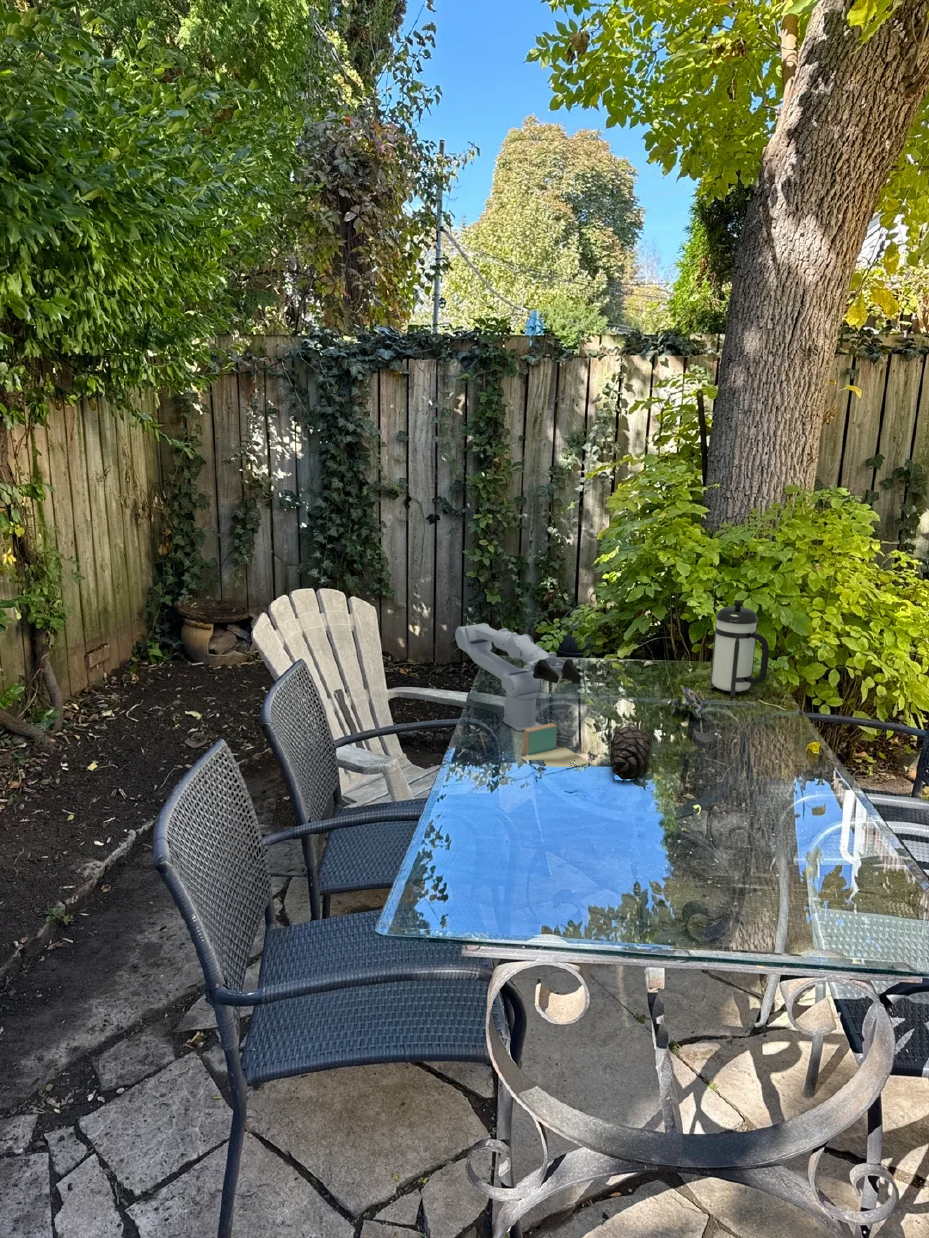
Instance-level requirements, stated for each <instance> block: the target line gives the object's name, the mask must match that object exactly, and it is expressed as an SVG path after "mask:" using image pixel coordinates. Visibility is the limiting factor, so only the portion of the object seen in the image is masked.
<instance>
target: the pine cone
mask: <svg viewBox="0 0 929 1238" xmlns="http://www.w3.org/2000/svg"><path fill="white" fill-rule="evenodd" d="M648 734H649V733H647V732H646V731H644V730H642V729H640V728H639V727H637V726H623V727H622V728H620V729H617V730H616V731H615V732H614V735H613V736H612V739H611V740H610V750H609V752H610V755H609V756H610V759H609V761H610V766H611V770H612V774H613V773H615V774H616V775H618V776H619V777H620V778H621V779H634V778H635V780H638V779H639V778H640V777H639V776H641V775H642V774H643V773H644V770H645V767H646V765H647V763H648V761H649V757H650V755H651V748H652V745H653V743H652V741H651V739H650V736H649V735H648ZM641 773H642V774H641ZM638 777H639V778H638Z"/></svg>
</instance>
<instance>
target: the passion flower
mask: <svg viewBox="0 0 929 1238" xmlns="http://www.w3.org/2000/svg"><path fill="white" fill-rule="evenodd" d="M679 688H680V690H681V691H680V692H681V693H682V694H679V695H678V696H677V698H674V700H672V699H671V698H670V693H667V692H666V697H667V699H668V700H670V702H669V703H668V704H667V705H666V706H665V709H668V708H669V707H670V706H672V705H673V709H672V711H671V714H670V716H671V715H673V714H674V713H675V712H677V711H678V710H679V708H681V707H682V706H684V710H685V709H686V710H689V708H690V707H691V709H692V716H693V717H694V718H695V719H696V720H699V719H698V718H701V719H702V715H701V714H702V712H703V710H704V703H703V701H707V699H706V697H705V695H704V693H703V691H702V690H701V689H697V690H696V691H694V690H692V688H688V687H687V686H686V687H684V685H681V684H680V685H679ZM701 699H702V700H703V701H702V700H701Z"/></svg>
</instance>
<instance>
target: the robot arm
mask: <svg viewBox="0 0 929 1238" xmlns="http://www.w3.org/2000/svg"><path fill="white" fill-rule="evenodd" d="M454 632H455V633H454V638H455V640H456V644H457V647H458V648H459V649H460V650H462V651H463V652H465V653H467V655H468V656H469V658H470V659H472V662H474V663H475V664H476V665H478V666H479V667H481V669H484V670H485V671H487V672H488V673H490V674H492V675H493V676H495V677H496V678H498V679H500V680H501V688H502V689H503V690H504V691H506V693H507V694H506V695H505V697H504V701H503V702H504V704H503V705H504V709H503V711H504V712H503V713H504V714H503V715H504V716H503V718H502V719H503V721H504V723H505V724H506V725H508V726H509V727H511V728H513V729H514V730H515V731H517V732H522V731H524V729H527V728H531V727H536V726H541V725H542V724H541V723H539V722H538V721H536V708H537V707H536V703H537V702H536V701H537V697H538V696H539V692H540V691H541V690H542V688H543V683H544V682H543V680H544V681H547V682H550V683H552V684H558V683H559V679H561V680H568V681H570V682H572V683H574V684H580V682H581V679H582V676H581V674H580V673H579V671H578V670H577V669H576V667H575V663H574V661H573V660H571V659H565V660H562V659H560V658H558V657H557V656H556V655H557V654H556V652H554V651H550V652H547V651H545V650H544V649H543V648H541V647H540V646H539V645H537V644H535V643H534V640H533V638H532V636H530V635H529V634H528V633H525V634H522V635H520V634H518V633H517V632H512V631H510V630H509V629H508V628H505V627H504V628H501V629H498V630H497V629H495V628H492V627H491V626H490V625H489V623H485V622H481V623H478V624H472V625H465V626H460V625H459V626H458V627H457V628H456V630H455V631H454ZM492 643H493V645H494V647H495V648H497V649H499V650H502V651H504V652H507V654H508V656H509V657H510V658H511V659H515V658H516V659H520V660H521V661H522V662H524V663H526V664H527V665H526V667H525V668H522V667H521V668H519V667H516V666H515V665H513V664H511V663H510V662H509V661H507V660H505V659H503V658H502V657H500V656H498V655H497V654H495V653H494V652H492V649H493V646H492ZM559 673H562V674H561V676H560V675H559ZM560 677H561V678H560ZM505 720H506V721H505ZM503 721H502V722H503Z"/></svg>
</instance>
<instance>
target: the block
mask: <svg viewBox="0 0 929 1238" xmlns="http://www.w3.org/2000/svg"><path fill="white" fill-rule="evenodd" d="M557 728H558V725H557V724H555V723H553V722H551V723H546V724H541V726H536V727H531V728H527V729H524V730H523V755H525V754H527V755H532V754H537V753H541V752H546V751H550V750H554V749H557V732H558V729H557Z"/></svg>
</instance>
